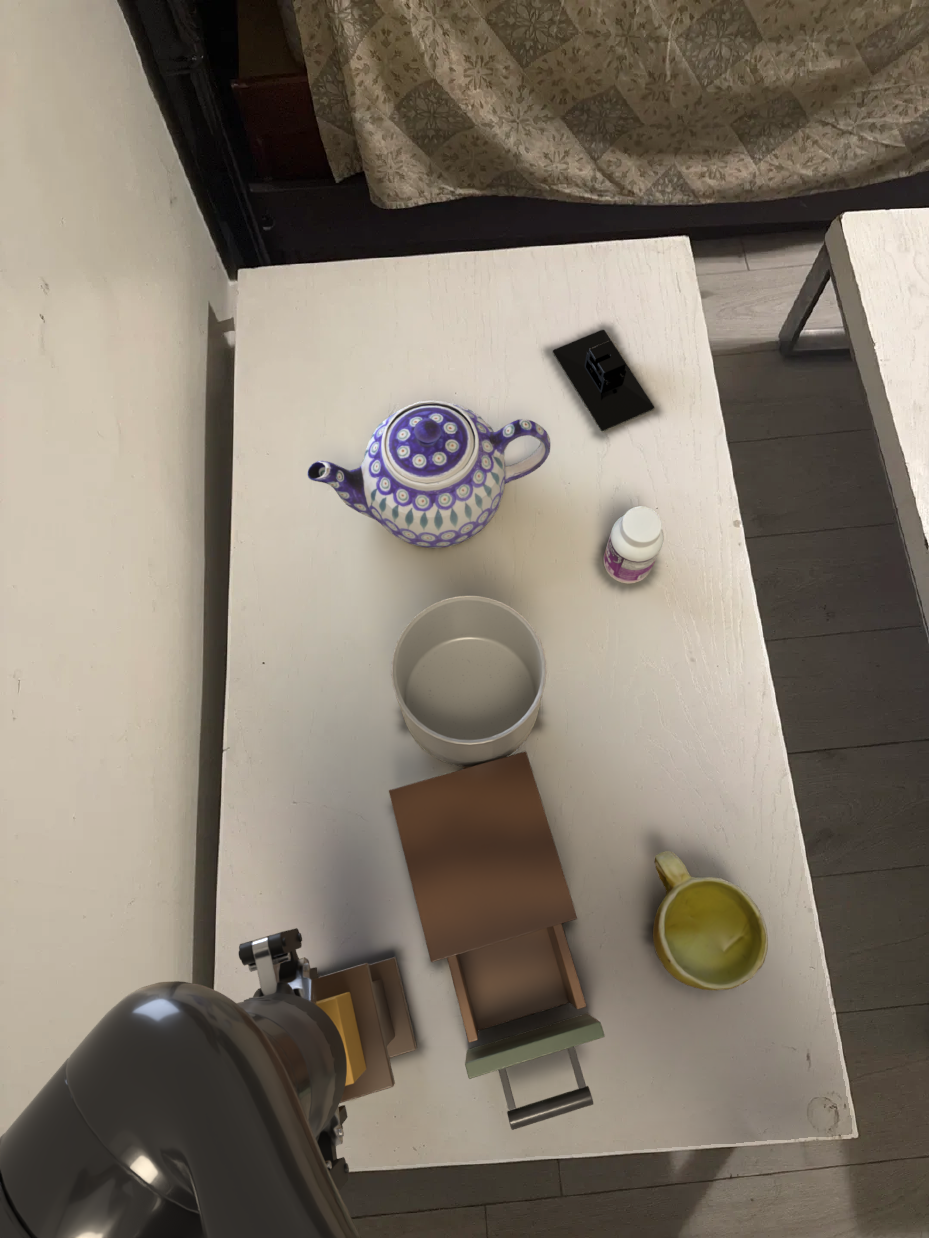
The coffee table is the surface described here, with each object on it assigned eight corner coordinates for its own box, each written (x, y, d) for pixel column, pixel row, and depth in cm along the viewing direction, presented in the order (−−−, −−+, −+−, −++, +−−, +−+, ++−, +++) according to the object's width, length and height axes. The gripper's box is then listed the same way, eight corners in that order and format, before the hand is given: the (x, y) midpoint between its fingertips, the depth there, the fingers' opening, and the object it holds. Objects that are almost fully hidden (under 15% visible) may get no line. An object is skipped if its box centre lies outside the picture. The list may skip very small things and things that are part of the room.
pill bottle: (599, 541, 96) (612, 500, 87) (648, 538, 96) (665, 497, 87) (605, 587, 94) (618, 549, 85) (654, 584, 94) (673, 546, 85)
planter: (408, 658, 92) (392, 596, 75) (532, 656, 91) (543, 594, 75) (407, 782, 87) (389, 745, 70) (537, 780, 87) (550, 743, 70)
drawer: (610, 1085, 77) (625, 1103, 68) (485, 1124, 76) (485, 1147, 68) (547, 876, 83) (554, 869, 75) (431, 910, 82) (425, 906, 74)
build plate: (551, 352, 105) (554, 327, 100) (605, 330, 106) (610, 304, 101) (601, 432, 100) (606, 409, 96) (656, 408, 101) (664, 384, 97)
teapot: (533, 426, 101) (541, 343, 87) (559, 545, 96) (573, 477, 82) (318, 459, 100) (291, 381, 86) (332, 581, 95) (306, 518, 81)
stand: (417, 1047, 79) (393, 1086, 58) (331, 1074, 78) (276, 1122, 58) (395, 956, 82) (366, 962, 61) (312, 981, 81) (253, 996, 60)
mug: (790, 979, 78) (783, 970, 70) (682, 1011, 81) (662, 1006, 72) (737, 848, 85) (724, 825, 76) (637, 881, 87) (615, 863, 79)
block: (366, 1069, 59) (354, 1083, 53) (294, 1091, 58) (273, 1107, 53) (349, 991, 60) (336, 996, 55) (279, 1012, 60) (258, 1020, 54)
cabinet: (566, 920, 82) (577, 918, 72) (437, 959, 81) (431, 962, 71) (521, 772, 87) (526, 750, 77) (399, 806, 86) (388, 789, 76)
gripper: (156, 953, 44) (240, 949, 59) (204, 1279, 39) (282, 1183, 54) (302, 910, 45) (347, 917, 60) (366, 1227, 40) (398, 1147, 55)
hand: (316, 1044), depth 57 cm, fingers open, 8 cm apart
